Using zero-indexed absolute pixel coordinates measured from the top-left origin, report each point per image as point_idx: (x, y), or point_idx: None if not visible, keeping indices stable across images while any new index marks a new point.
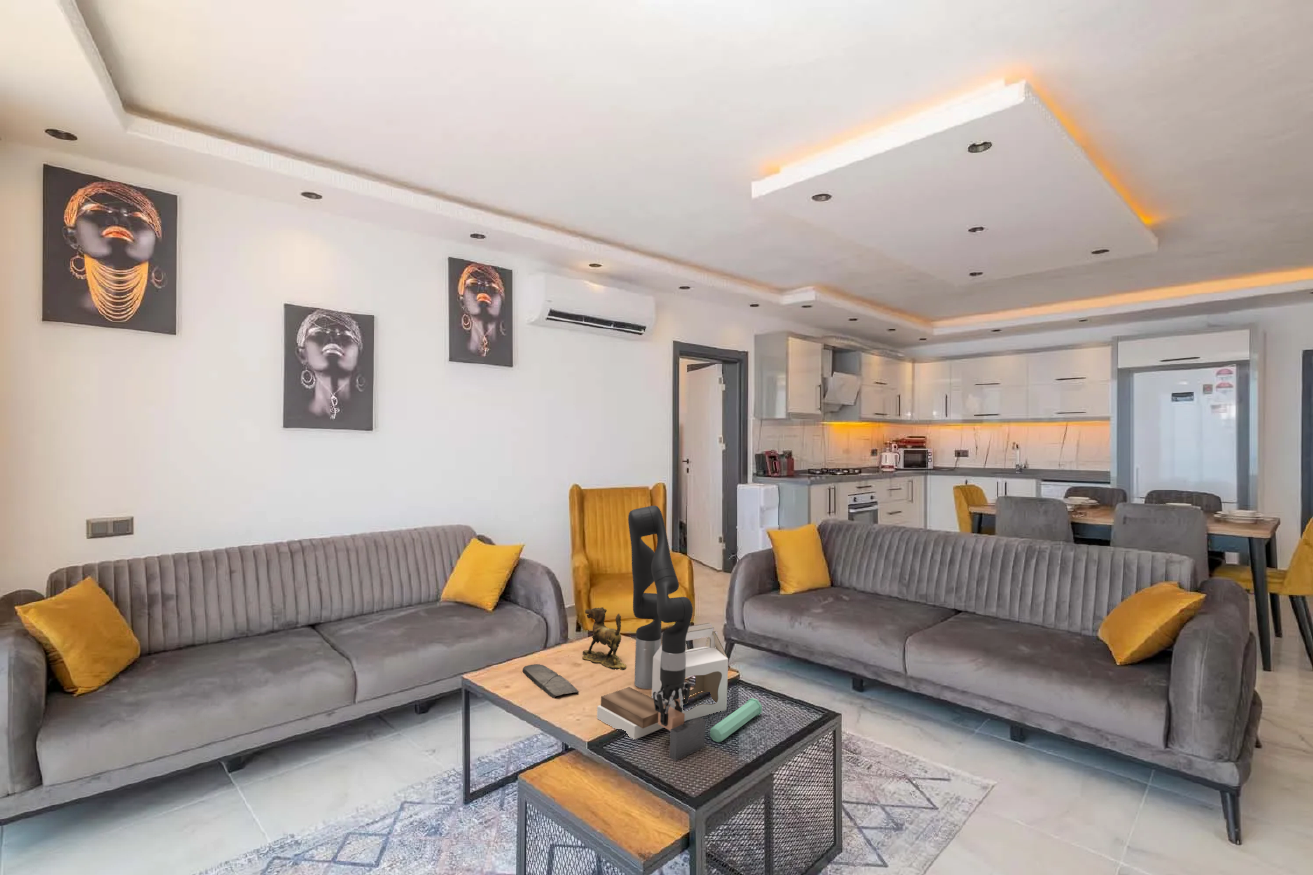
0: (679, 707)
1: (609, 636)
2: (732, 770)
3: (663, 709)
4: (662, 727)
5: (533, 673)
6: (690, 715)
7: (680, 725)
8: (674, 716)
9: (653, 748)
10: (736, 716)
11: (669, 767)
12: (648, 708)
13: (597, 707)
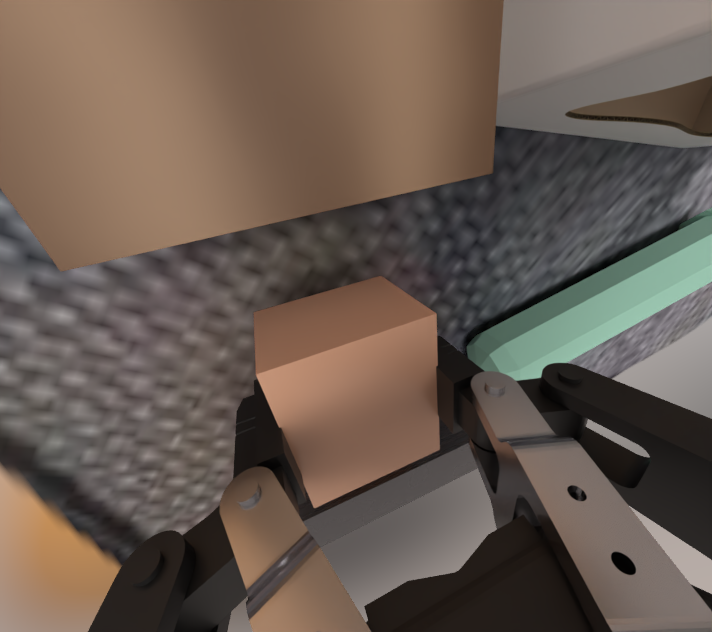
0: (462, 426)
1: None
2: None
3: (227, 625)
4: None
5: None
6: (559, 127)
7: (336, 507)
8: (349, 479)
9: (200, 322)
10: (621, 331)
11: (209, 468)
12: (260, 15)
13: None
